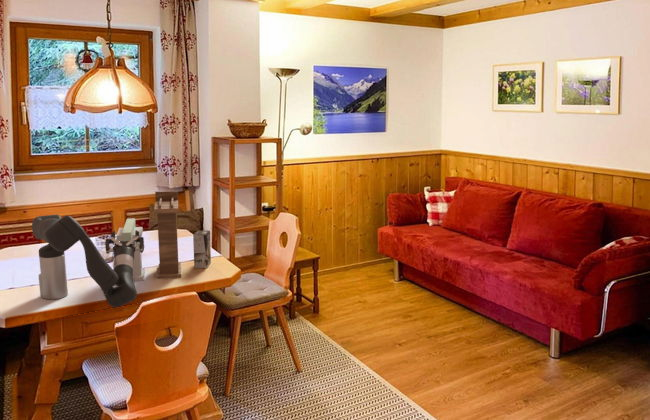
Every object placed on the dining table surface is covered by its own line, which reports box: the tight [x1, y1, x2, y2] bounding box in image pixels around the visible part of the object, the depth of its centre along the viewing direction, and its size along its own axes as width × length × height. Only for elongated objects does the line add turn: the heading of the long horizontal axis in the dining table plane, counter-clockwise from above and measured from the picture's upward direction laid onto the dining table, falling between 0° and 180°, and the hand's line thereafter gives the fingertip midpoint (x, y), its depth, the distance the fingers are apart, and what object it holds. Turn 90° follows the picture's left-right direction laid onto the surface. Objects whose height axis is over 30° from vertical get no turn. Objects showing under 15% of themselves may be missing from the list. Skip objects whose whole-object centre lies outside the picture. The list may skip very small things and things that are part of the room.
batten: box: [122, 217, 137, 241], centre depth 250 cm, size 26×4×4 cm, turn 14°
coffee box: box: [192, 230, 212, 269], centre depth 274 cm, size 9×6×16 cm
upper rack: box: [153, 190, 182, 280], centre depth 261 cm, size 20×10×36 cm, turn 14°
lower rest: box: [115, 226, 146, 282], centre depth 256 cm, size 14×10×21 cm
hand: (125, 232), depth 233 cm, fingers open, 8 cm apart
